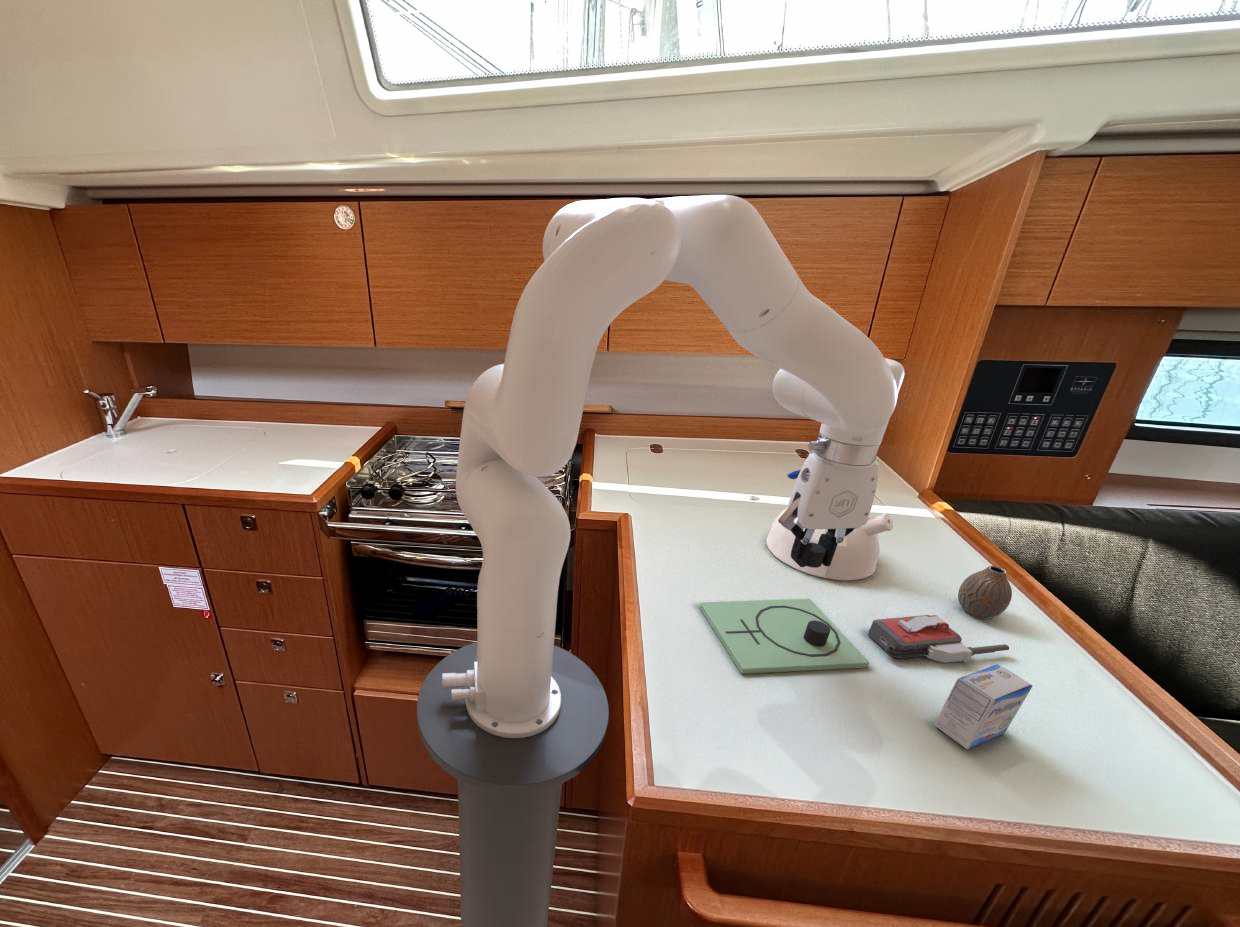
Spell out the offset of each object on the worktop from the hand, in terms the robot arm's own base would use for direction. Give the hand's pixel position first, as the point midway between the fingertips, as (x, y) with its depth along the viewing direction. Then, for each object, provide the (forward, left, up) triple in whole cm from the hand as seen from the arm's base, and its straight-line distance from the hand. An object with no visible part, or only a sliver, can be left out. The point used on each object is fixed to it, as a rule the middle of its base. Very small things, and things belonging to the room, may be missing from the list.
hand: (809, 560), depth 85 cm
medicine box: (+14, -21, -14) cm, 29 cm away
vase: (+37, +3, -14) cm, 39 cm away
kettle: (+20, +23, -14) cm, 33 cm away
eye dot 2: (+2, -4, -12) cm, 13 cm away
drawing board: (-2, -1, -13) cm, 14 cm away
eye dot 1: (0, 0, 0) cm, 0 cm away
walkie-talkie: (+22, -5, -14) cm, 26 cm away
